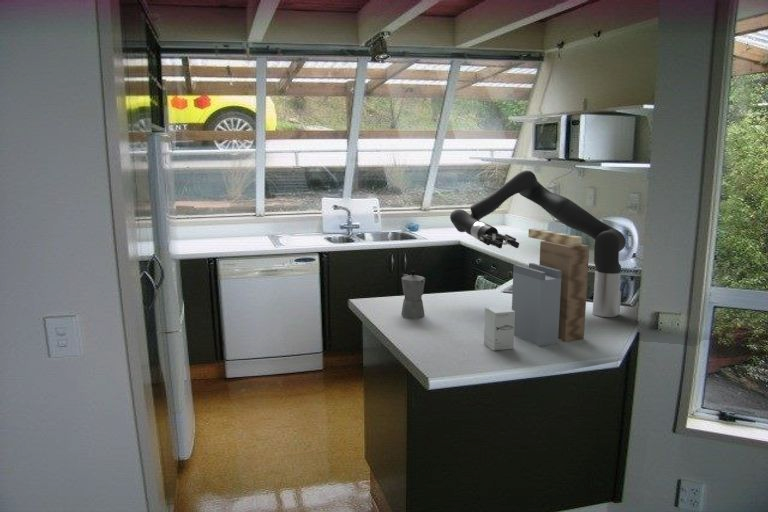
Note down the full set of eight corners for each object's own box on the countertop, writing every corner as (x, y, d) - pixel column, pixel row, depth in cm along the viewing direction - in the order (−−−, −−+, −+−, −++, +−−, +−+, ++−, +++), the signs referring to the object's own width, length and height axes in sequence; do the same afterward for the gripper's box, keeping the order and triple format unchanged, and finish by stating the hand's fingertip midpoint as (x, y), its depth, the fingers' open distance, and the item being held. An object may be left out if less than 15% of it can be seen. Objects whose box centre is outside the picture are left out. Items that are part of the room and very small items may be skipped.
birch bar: (528, 237, 203) (528, 229, 203) (535, 236, 204) (535, 228, 204) (574, 246, 181) (574, 237, 181) (581, 245, 182) (581, 236, 182)
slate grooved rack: (529, 330, 197) (532, 262, 193) (557, 342, 184) (561, 270, 180) (510, 333, 194) (513, 264, 190) (538, 346, 181) (541, 272, 176)
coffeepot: (432, 317, 214) (433, 272, 211) (413, 321, 209) (413, 274, 206) (409, 308, 227) (409, 265, 223) (390, 312, 221) (390, 268, 218)
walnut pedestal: (554, 326, 202) (558, 239, 196) (583, 338, 188) (589, 245, 182) (536, 329, 199) (540, 241, 193) (565, 341, 185) (570, 247, 179)
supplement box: (493, 351, 176) (494, 312, 174) (483, 343, 183) (484, 307, 181) (514, 349, 178) (515, 311, 176) (503, 341, 185) (504, 305, 183)
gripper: (472, 223, 222) (497, 236, 209) (499, 224, 229) (525, 236, 216) (468, 241, 224) (493, 255, 211) (495, 241, 231) (521, 254, 218)
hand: (510, 245), depth 213 cm, fingers open, 8 cm apart
